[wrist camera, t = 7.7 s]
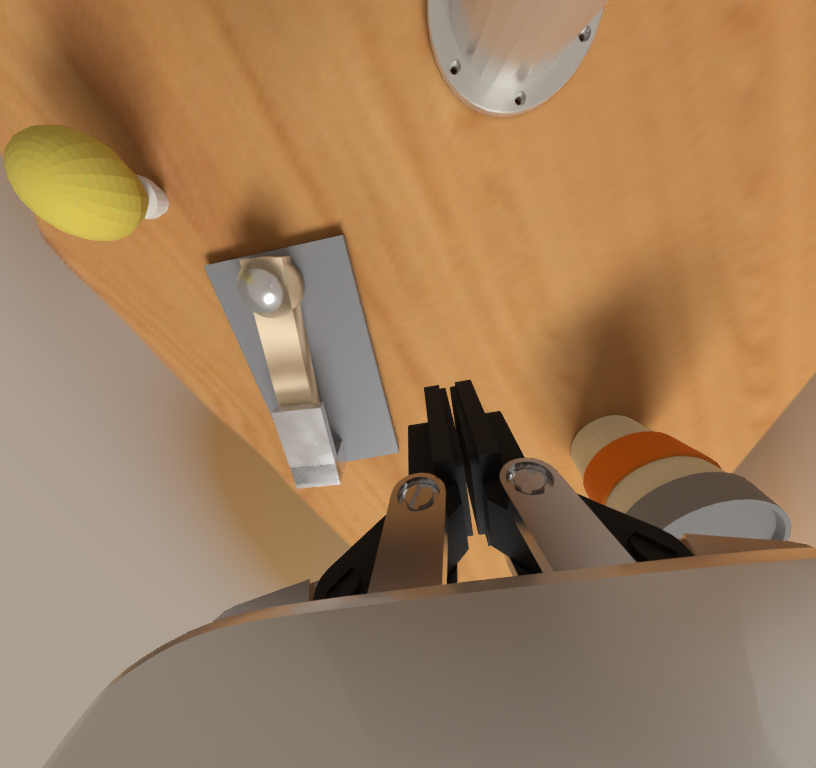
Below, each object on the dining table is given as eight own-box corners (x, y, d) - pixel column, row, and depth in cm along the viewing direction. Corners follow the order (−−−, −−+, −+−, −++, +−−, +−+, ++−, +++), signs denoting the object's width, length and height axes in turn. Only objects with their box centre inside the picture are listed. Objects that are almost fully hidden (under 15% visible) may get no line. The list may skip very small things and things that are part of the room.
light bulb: (199, 246, 29) (105, 248, 20) (124, 234, 28) (-8, 232, 19) (188, 161, 26) (72, 118, 17) (104, 146, 25) (-61, 94, 16)
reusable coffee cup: (617, 383, 36) (749, 470, 22) (675, 437, 39) (821, 541, 25) (536, 452, 40) (605, 561, 26) (595, 495, 43) (684, 612, 30)
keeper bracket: (286, 393, 34) (271, 412, 30) (330, 388, 34) (320, 407, 30) (308, 462, 39) (297, 488, 35) (347, 459, 38) (340, 484, 34)
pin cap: (238, 272, 26) (230, 273, 25) (277, 263, 26) (272, 264, 25) (254, 313, 28) (248, 316, 26) (292, 305, 27) (287, 308, 26)
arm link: (242, 257, 28) (229, 259, 26) (299, 254, 28) (290, 255, 26) (288, 431, 36) (281, 443, 34) (332, 428, 36) (327, 440, 34)
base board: (209, 265, 29) (203, 265, 29) (344, 235, 29) (342, 234, 28) (298, 464, 40) (296, 470, 39) (399, 447, 39) (398, 452, 38)
